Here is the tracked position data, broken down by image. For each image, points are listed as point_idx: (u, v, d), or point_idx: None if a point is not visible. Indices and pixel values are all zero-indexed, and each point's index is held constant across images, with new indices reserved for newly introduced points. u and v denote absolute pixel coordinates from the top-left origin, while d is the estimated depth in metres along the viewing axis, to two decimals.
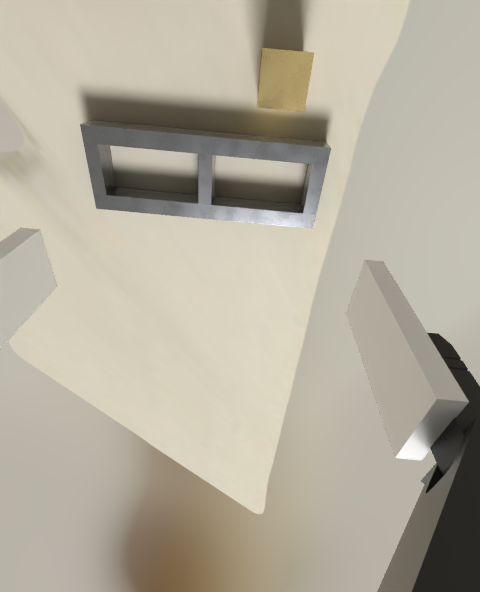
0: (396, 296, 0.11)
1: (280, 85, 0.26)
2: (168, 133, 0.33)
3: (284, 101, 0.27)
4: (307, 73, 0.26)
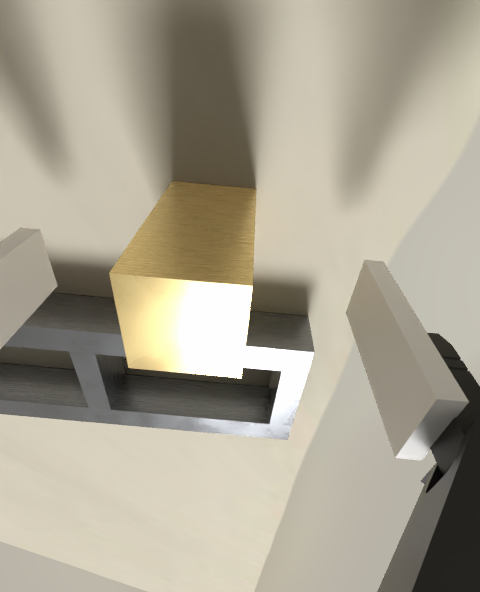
0: (396, 296, 0.11)
1: (174, 338, 0.10)
2: None
3: (191, 362, 0.11)
4: (240, 321, 0.10)
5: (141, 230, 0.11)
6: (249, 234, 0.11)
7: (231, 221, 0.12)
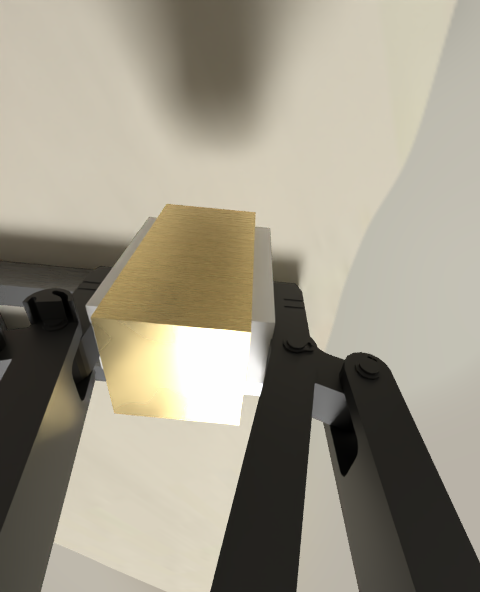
0: (264, 253, 0.13)
1: (165, 385, 0.09)
2: None
3: (183, 408, 0.10)
4: (237, 368, 0.09)
5: (130, 263, 0.10)
6: (247, 267, 0.11)
7: (228, 251, 0.11)
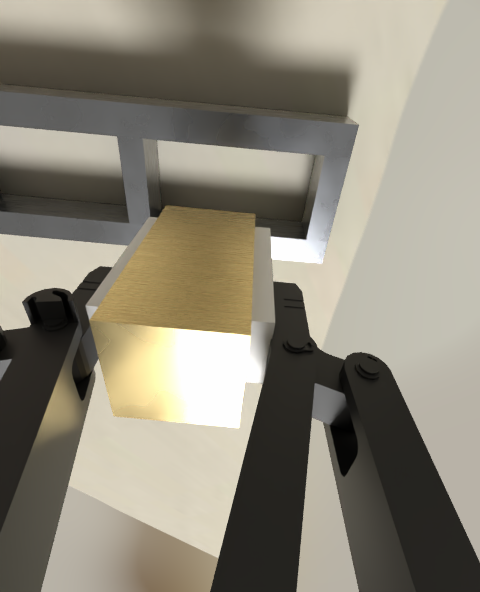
0: (264, 253, 0.13)
1: (164, 387, 0.09)
2: (56, 98, 0.18)
3: (182, 411, 0.10)
4: (236, 371, 0.09)
5: (129, 265, 0.10)
6: (247, 269, 0.10)
7: (228, 252, 0.11)
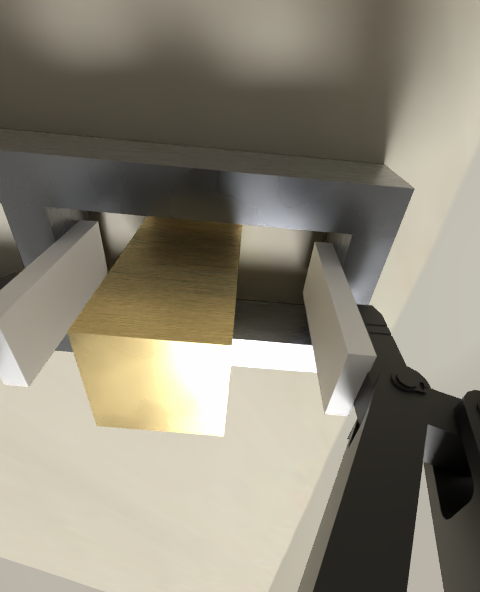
0: (336, 272, 0.12)
1: (147, 397, 0.09)
2: None
3: (166, 420, 0.10)
4: (219, 381, 0.09)
5: (111, 273, 0.10)
6: (232, 275, 0.10)
7: (212, 259, 0.11)
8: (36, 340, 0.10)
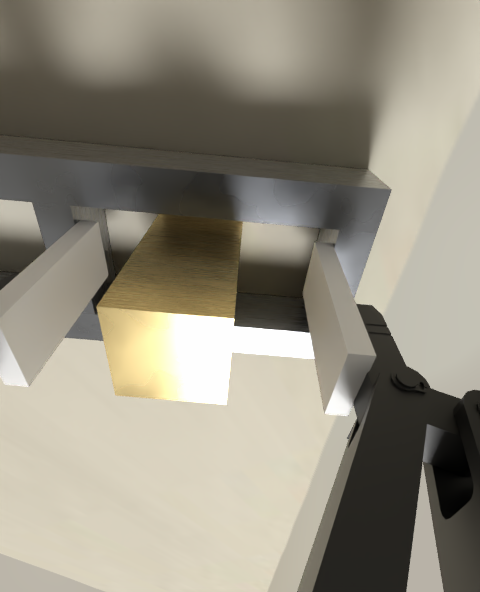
0: (335, 272, 0.12)
1: (160, 367, 0.11)
2: None
3: (176, 389, 0.11)
4: (223, 351, 0.10)
5: (129, 261, 0.12)
6: (233, 265, 0.12)
7: (216, 251, 0.13)
8: (36, 340, 0.10)
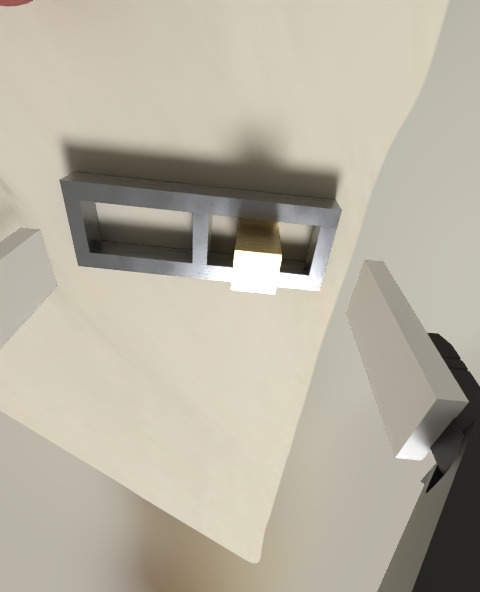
0: (396, 296, 0.11)
1: (252, 276, 0.28)
2: (159, 191, 0.30)
3: (256, 286, 0.29)
4: (276, 268, 0.28)
5: (237, 236, 0.29)
6: (278, 239, 0.30)
7: (269, 234, 0.31)
8: None
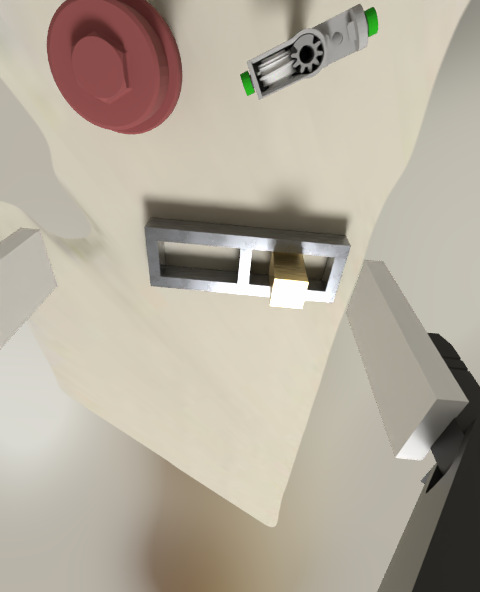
0: (396, 296, 0.11)
1: (286, 296, 0.40)
2: (217, 234, 0.41)
3: (288, 303, 0.40)
4: (304, 291, 0.39)
5: (274, 267, 0.40)
6: (303, 268, 0.41)
7: (297, 263, 0.41)
8: None
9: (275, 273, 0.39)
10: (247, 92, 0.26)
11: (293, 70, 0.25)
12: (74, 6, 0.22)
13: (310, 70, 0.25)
